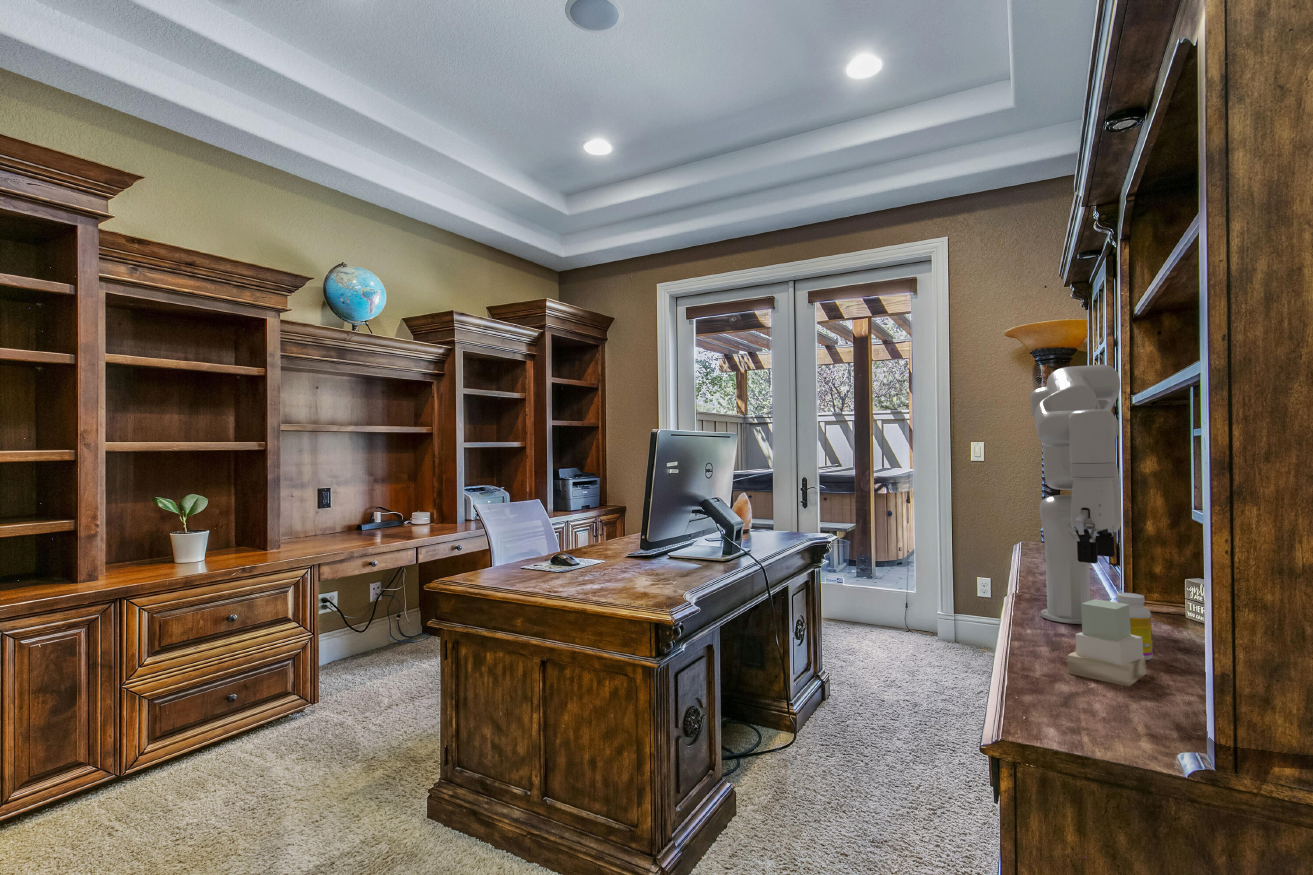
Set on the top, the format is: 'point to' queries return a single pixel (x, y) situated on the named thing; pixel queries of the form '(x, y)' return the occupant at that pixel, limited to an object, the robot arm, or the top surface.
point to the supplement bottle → (1139, 620)
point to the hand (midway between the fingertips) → (1096, 559)
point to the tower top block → (1110, 648)
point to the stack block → (1106, 619)
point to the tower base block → (1106, 669)
